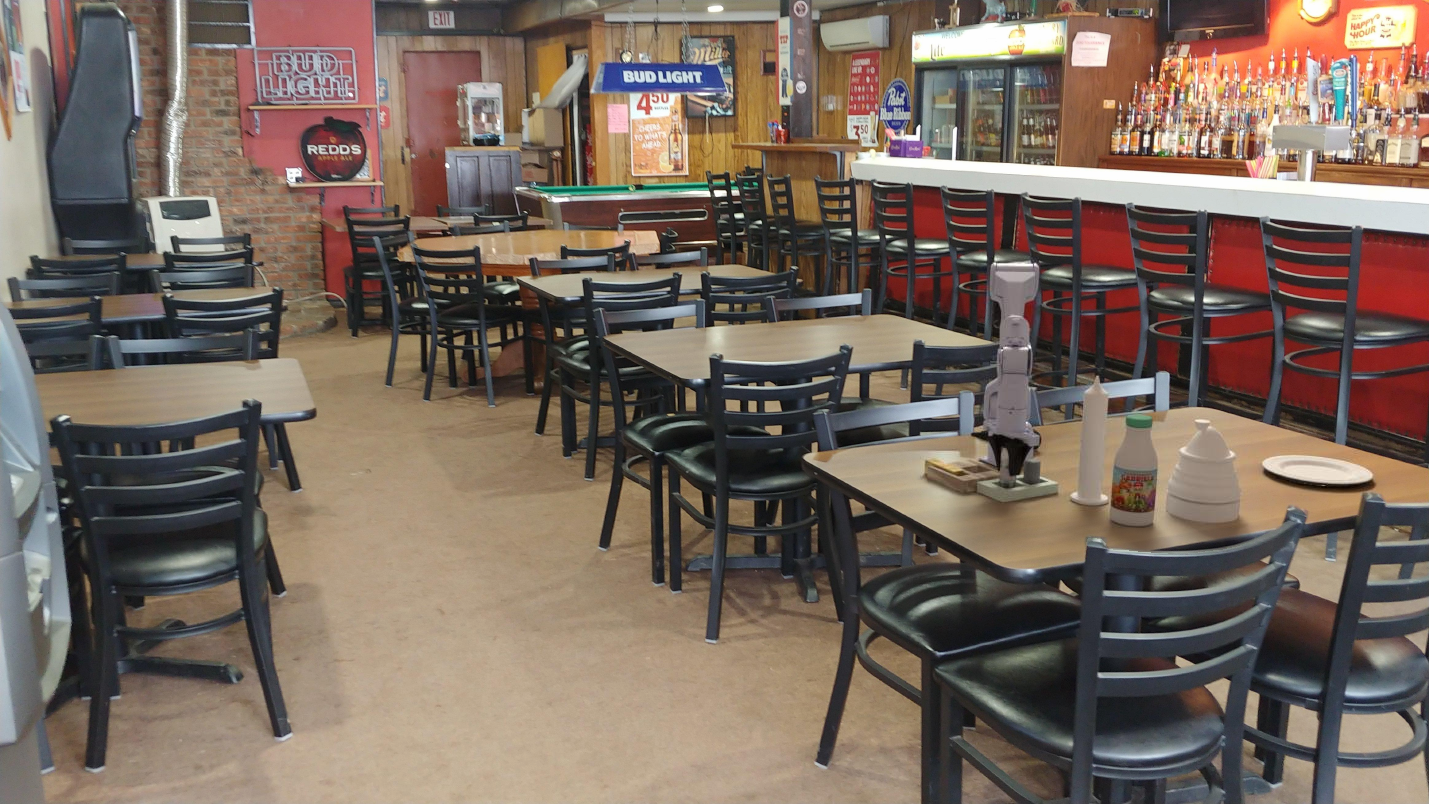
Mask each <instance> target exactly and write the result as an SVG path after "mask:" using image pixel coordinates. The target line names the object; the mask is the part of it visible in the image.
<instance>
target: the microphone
mask: <svg viewBox="0 0 1429 804" xmlns="http://www.w3.org/2000/svg"><path fill="white" fill-rule="evenodd" d="M1033 431H1034V434H1036V435H1039V436H1040V440H1039V445H1038V446H1033V451H1035V450H1038V449H1039V448H1040V447H1041V445H1042V435H1041V433H1040V432H1039V431H1037V430H1036V429H1034V428H1033ZM970 435H971V436H973V437H978V438H980V439H982V440H985V441H988V440H987V439H988V436H989V431H985V430H981V431H979V432H978V431H975V432H971V433H970Z"/></svg>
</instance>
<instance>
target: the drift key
mask: <svg viewBox="0 0 1429 804" xmlns="http://www.w3.org/2000/svg"><path fill="white" fill-rule="evenodd" d="M928 466H934V467H936V468H939V469H941V470H944V471H946V472H949V473H951V474H953V475H956V476H958V477H959V476H963V473H964V470H962V469H959V468H957V467H954V466H952V465H949V464H947V462H944V461H942V460H939V459H938V458H937V459H936V458H928V459H924V474H925V475H927V476H928Z"/></svg>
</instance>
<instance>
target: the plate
mask: <svg viewBox="0 0 1429 804" xmlns="http://www.w3.org/2000/svg"><path fill="white" fill-rule="evenodd" d="M1261 465H1262V468H1263V469H1264V470H1265V471H1267V472H1269V473H1271V474H1273V475H1275V476H1278V477H1280V478H1281V479H1284V480H1286V479H1287V481H1290V480H1291V481H1290V482H1293V481H1295V482H1294V483H1297V482H1300V483H1299V484H1302V483H1306V484H1305V485H1307V484H1312V485H1311V486H1314V485H1325V486H1344V487H1350V486H1349V485H1351V486H1356V485H1360V484H1361V485H1362V484H1366V483H1368V482H1370V481H1372V480H1373V479H1374V474H1373V473H1372V471H1370V470H1369V469H1367V468H1366V467H1363V466H1362V465H1359V464H1356V463H1353V462H1349V461H1345V460H1341V459H1336V458H1331V457H1329V458H1328V457H1322V456H1315V455H1312V456H1311V455H1298V454H1296V455H1292V454H1291V455H1289V454H1288V455H1287V454H1286V455H1278V456H1271V457H1268V458H1266V459H1264V460H1263V461H1262V463H1261Z"/></svg>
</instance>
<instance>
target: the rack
mask: <svg viewBox="0 0 1429 804" xmlns="http://www.w3.org/2000/svg"><path fill="white" fill-rule="evenodd" d="M1041 465H1042V463H1041V460H1039V459H1034V458H1033V459H1026V460H1025V461H1024V464H1023V473H1022V474H1020V475H1017V476H1016V488H1010V489H1005V488H1002V487H1000V486H999V479H1000V478H999V479H993V480H987V481H981V482H977V491H976V493H979V494H982V495H984V496H986V497H989V498H991V499H993V500H995V501H998V502H1000V503H1007V502H1013V501H1017V500H1025V499H1030V498H1035V497H1041V496H1042V497H1043V496H1046V495H1047V496H1048V495H1053V494H1058V493H1059V485H1060V484H1059V482H1057V481H1053V480H1051V479H1048V478H1045V477H1043V476H1041Z"/></svg>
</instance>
